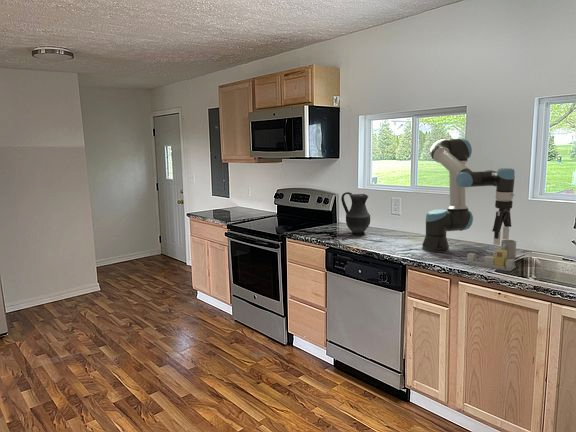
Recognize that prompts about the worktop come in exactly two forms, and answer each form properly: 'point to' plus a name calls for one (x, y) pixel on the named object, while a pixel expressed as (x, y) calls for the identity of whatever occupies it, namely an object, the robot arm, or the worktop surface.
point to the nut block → (500, 257)
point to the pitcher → (357, 214)
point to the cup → (509, 248)
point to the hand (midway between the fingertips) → (501, 241)
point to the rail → (490, 262)
